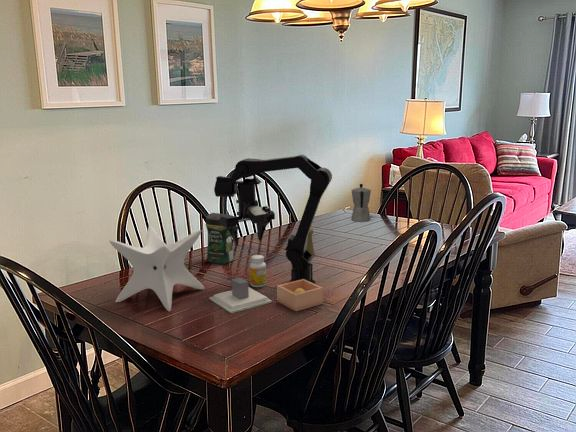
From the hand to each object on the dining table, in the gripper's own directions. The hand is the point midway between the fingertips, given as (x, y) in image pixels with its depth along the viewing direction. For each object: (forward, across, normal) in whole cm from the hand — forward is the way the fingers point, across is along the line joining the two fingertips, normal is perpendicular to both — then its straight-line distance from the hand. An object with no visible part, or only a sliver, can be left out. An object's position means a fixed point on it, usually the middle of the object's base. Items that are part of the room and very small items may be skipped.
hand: (248, 242), depth 184 cm
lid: (+12, -13, -15) cm, 23 cm away
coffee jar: (+13, +2, +25) cm, 28 cm away
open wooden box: (+13, +1, -27) cm, 30 cm away
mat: (+13, -13, -15) cm, 24 cm away
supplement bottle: (+13, 0, -6) cm, 15 cm away
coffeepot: (+13, +89, +39) cm, 98 cm away
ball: (+10, +1, -27) cm, 29 cm away
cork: (+13, +33, +11) cm, 37 cm away
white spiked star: (+13, -30, +5) cm, 33 cm away
